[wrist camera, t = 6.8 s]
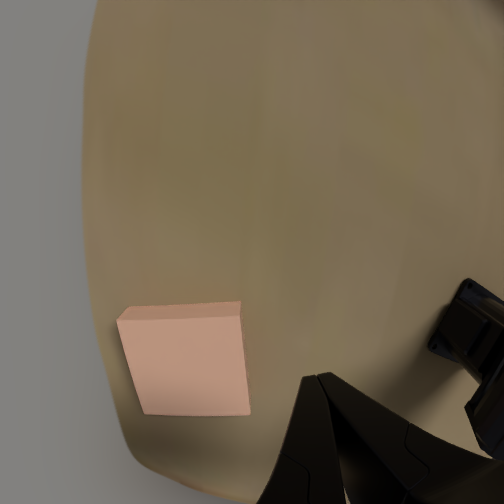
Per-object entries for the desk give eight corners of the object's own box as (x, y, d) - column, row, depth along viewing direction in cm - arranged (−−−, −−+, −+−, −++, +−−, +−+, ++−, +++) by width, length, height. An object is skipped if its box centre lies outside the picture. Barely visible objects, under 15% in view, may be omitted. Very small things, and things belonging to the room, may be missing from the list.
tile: (239, 315, 19) (116, 320, 19) (250, 414, 21) (144, 414, 21) (241, 299, 22) (129, 304, 22) (250, 392, 23) (152, 393, 24)
